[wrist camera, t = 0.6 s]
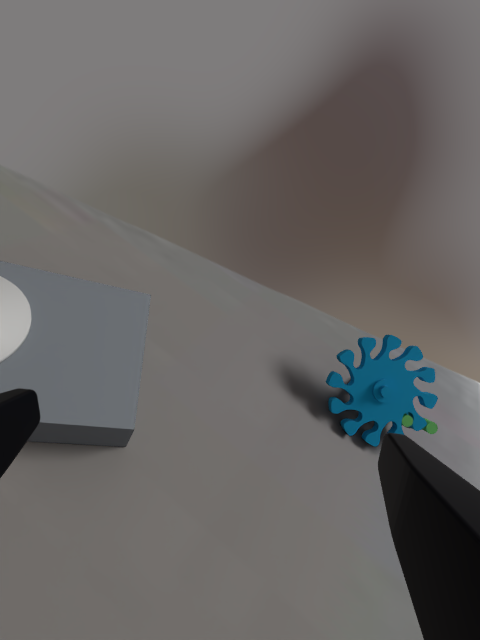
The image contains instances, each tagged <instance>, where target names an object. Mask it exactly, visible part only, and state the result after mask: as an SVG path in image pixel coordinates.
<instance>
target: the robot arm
mask: <svg viewBox="0 0 480 640" xmlns="http://www.w3.org/2000/svg"><path fill="white" fill-rule="evenodd" d="M39 422H40V409H39V403H38V397H37V393H36V392H35V391H34V390H31V389H23V388H17V389H13V390H10V391H6V392H3V393H0V478H1V477H2V475H3V474H4V473H5V471H6V470H7V469H8V467H9V466H10V464H11V463H12V462H13V460H14V459H15V457H16V456H17V455H18V453H19V452H20V450H21V449H22V448H23V446H24V445H25V443H26V442H27V440H28V439H29V438H30V436H31V435H32V433H33V432H34V431H35V429H36V428H37V426H38V425H39ZM378 471H379V476H380V481H381V486H382V491H383V496H384V501H385V506H386V511H387V516H388V521H389V525H390V530H391V534H392V538H393V542H394V545H395V549H396V552H397V555H398V558H399V561H400V565H401V568H402V571H403V574H404V577H405V581H406V584H407V587H408V590H409V593H410V597H411V600H412V603H413V606H414V609H415V613H416V616H417V619H418V622H419V625H420V628H421V632H422V635H423V638H424V640H480V491H479V490H478V489H477V488H475V487H474V486H473V485H471V484H470V483H469V482H467V481H466V480H465V479H463V478H462V477H461V476H459V475H458V474H457V473H455V472H454V471H453V470H451V469H450V468H449V467H447V466H446V465H445V464H443V463H442V462H441V461H439V460H438V459H436V458H435V457H434V456H432V455H431V454H430V453H428V452H427V451H426V450H424V449H423V448H422V447H420V446H419V445H418V444H416V443H415V442H414V441H412V440H411V439H410V438H408V437H407V436H405V435H403V434H396V433H387V434H385V436H384V439H383V443H382V447H381V451H380V456H379V460H378Z"/></svg>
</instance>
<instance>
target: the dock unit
mask: <svg viewBox="0 0 480 640" xmlns="http://www.w3.org/2000/svg"><path fill="white" fill-rule="evenodd" d="M150 298H151V295H150V294H145V293H141V292H137V291H132V290H128V289H123V288H119V287H114V286H110V285H105V284H101V283H97V282H92V281H88V280H83V279H79V278H74V277H70V276H65V275H61V274H57V273H52V272H48V271H43V270H39V269H34V268H30V267H25V266H21V265H17V264H12V263H8V262H3V261H0V393H3V392H6V391H10V390H13V389H17V388H23V389H31V390H34V391H35V392H36V393H37V397H38V403H39V409H40V422H39V425H38V426H37V428H36V429H35V431H34V432H33V433H32V435H31V436H30V438H29V439H28V440H27V441H32V442H49V443H67V444H84V445H102V446H120V447H126V445H127V443H128V441H129V439H130V437H131V435H132V433H133V431H134V428H135V420H136V412H137V403H138V395H139V387H140V379H141V371H142V363H143V355H144V347H145V339H146V331H147V322H148V314H149V306H150Z"/></svg>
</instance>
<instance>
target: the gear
mask: <svg viewBox="0 0 480 640" xmlns="http://www.w3.org/2000/svg"><path fill="white" fill-rule="evenodd" d="M358 345H359V347H360V349H361V353H362V359H361V364H360V366H359V367H358V368H355V367H354V366H353V361H354V353H353V352H352V351H351V350H344V351H342V352H340V353H339V354H338V355H337V359H338V361H339V362H341V363H343V364H344V365H345V366H346V367H347V369H348V371H349V373H350V376H351V380H350V382H349V383H348V384H344V382H343V379H342V377H341V375H340V374H338V373H336V372H334V371H332V372H331V373H330V374H329V375H328V377H327V380H326V383H327V384H328V385H330V386H332V387H338V388H342V389H344V390H346V391H347V392H348V393H349V395H350V400H349V401H348V402H346V403H343V402H342V401H341V400H339V399H338V398H336V397H330V398H329V402H328V405H329V410H330V411H331V412H332V413H334V414H338V413H340V412H342V411H344V410H350V409H351V410H357V411H358V412H359V415H358V417H357V418H356V419H348V418H345V419H343V420H342V421H341V422H340V423H341V426H342V428H343V429H344V431H345V432H346V433H347V434H348V435H349V436H352V435H354V434H355V433H356V432H357V430H358V429H359V427H360V426H361V425H363V424H364V423H367V422H370V421H374V426H373V428H371V429H369V430H366V431H364V432H363V434H362V438H363V439H364V440H365V441H366V442H367V443H369V444H370V445H372V446H375V447H376V446H378V445H379V443H380V434H381V431H382V429H383V428H384V427H385V425H386V424H387V423H388V422H390V421H392V423H393V425H392V427H391V429H390V430H389V431H388V432H387V433H396V434H403V435H404V433H403V431H402V425H403V426H405V427H407V428H412V429H414V430H416V431H419V430H421V429H422V430H424V431H426V432H428V433H430V434H434V433H436V431H437V429H438V428H437V425H436V424H435V423H434V422H432V421H429V420H427V419H425V418H422V417H421V416H419V415H418V414H417V412H416V411H415V408H414V405H413V398H414V397H415V396H418V399H419V402H420V404H421V405H423V406H425V407H427V408H430V409H432V408H433V407H434V405H435V404H436V402H437V399H438V398H437V396H436V395H434V394H431V393H428V392H421V391H419V390H418V389H417V388H416V387H415V386H414V384H413V381H414V379H415V378H416V377H418V378H419V379H420V380H422V381H425V382H429V383H432V382H434V380H435V371H434V369H432V368H428V367H422V368H420V369H418V370H415V371H407V370H406V369H405V362H406V361H407V360H414V361H419V360H421V359H422V358H423V355H422V352H421V351H420V349H419V348H418V347H417V346H409V347H407V348H406V349H405V351H404V353H403V354H402V355H401V356H399V357H397V358H395V359H392V360H391V359H390V358H389V352H390V351H391V350H394V349H397V348H398V347H400V345H401V340H400V339H398V338H397V337H395V336H392V335H385V337H384V338H383V345H382V349H381V351H380V353H379V354H378V355H377V356H376V357H375V358H374V359H371V357H370V352H371V351H372V349H373V348H374V347H375V345H376V340H375V339H374V338H368V337H363V338H359V339H358Z"/></svg>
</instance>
